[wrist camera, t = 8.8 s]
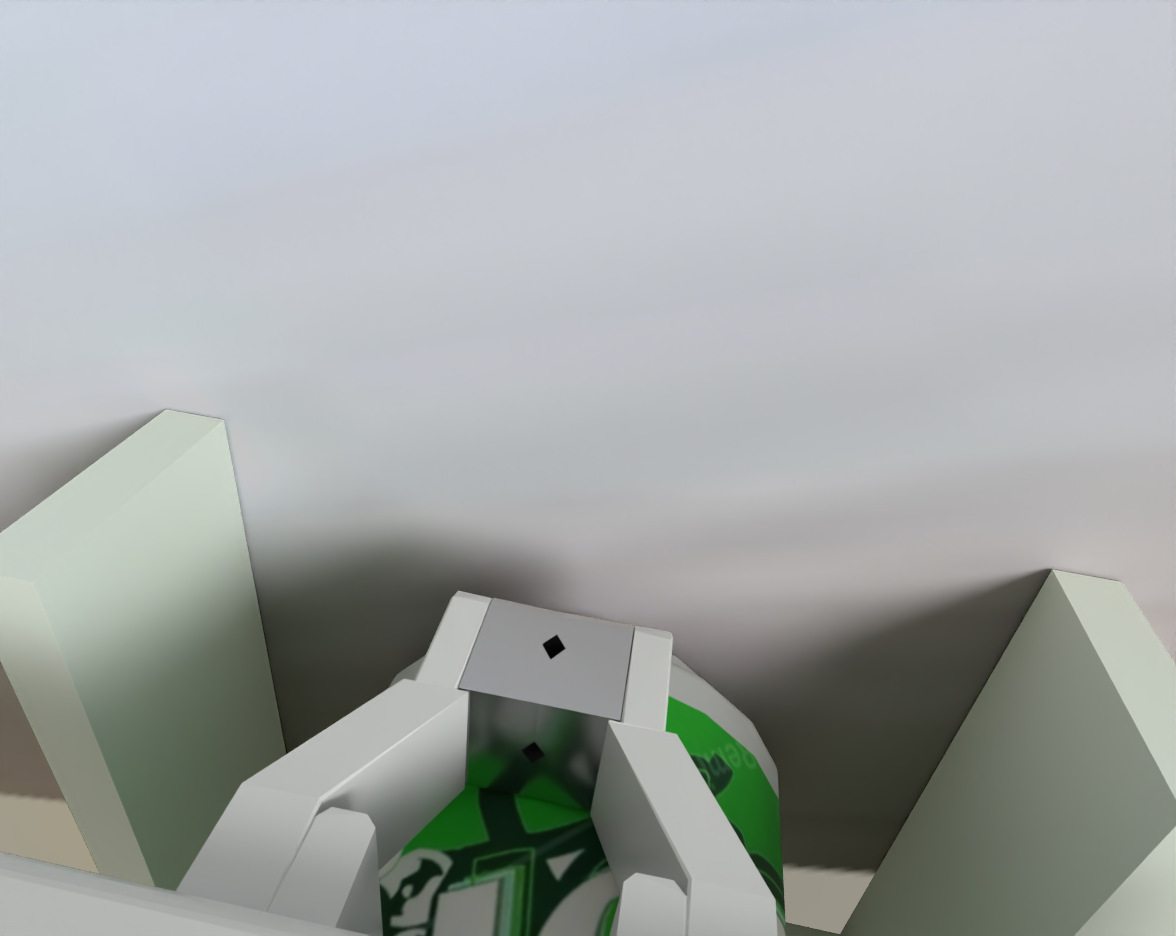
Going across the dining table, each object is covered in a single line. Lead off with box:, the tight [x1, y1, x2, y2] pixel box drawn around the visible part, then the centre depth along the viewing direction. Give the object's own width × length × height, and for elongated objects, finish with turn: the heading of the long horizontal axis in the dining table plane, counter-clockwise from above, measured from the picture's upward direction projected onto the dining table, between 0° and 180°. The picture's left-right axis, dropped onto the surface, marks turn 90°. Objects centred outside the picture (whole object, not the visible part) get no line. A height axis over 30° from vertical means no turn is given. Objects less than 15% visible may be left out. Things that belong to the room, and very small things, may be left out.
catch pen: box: [0, 409, 1176, 936], centre depth 13 cm, size 15×12×4 cm
